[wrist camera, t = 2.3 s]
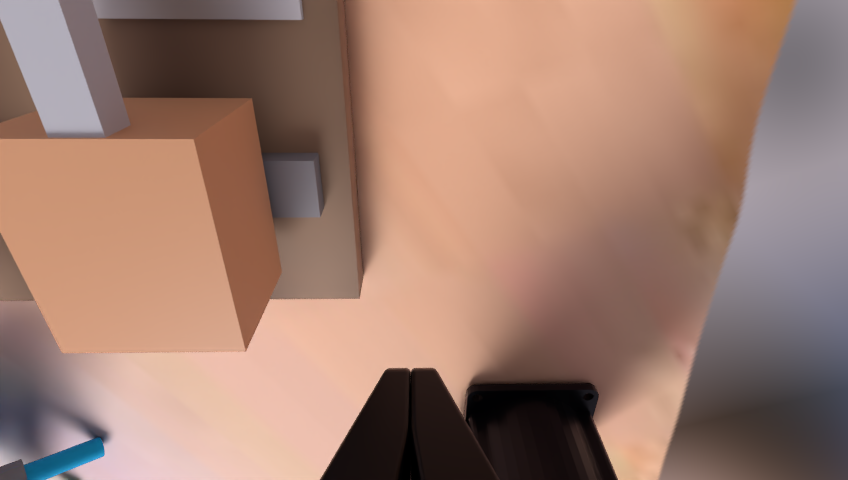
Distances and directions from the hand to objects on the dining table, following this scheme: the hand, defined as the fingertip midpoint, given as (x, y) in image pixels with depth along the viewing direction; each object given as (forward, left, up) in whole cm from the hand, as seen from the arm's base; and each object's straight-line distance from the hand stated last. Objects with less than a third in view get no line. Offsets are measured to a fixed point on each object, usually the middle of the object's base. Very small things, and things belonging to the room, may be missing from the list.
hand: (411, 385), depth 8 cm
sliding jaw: (+7, -2, -8) cm, 11 cm away
